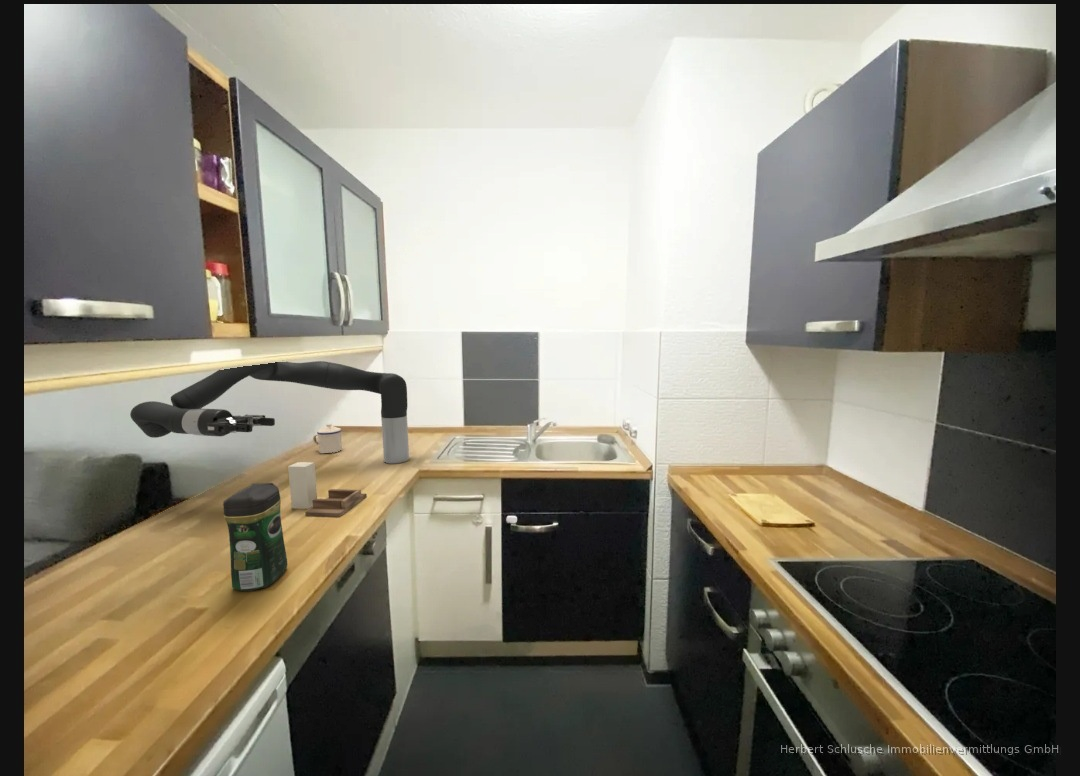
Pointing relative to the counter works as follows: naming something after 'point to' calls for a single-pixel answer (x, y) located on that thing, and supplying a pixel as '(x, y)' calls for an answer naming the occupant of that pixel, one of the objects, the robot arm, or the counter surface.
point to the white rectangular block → (302, 484)
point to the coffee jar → (255, 536)
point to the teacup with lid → (328, 439)
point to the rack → (336, 503)
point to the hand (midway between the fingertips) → (263, 425)
